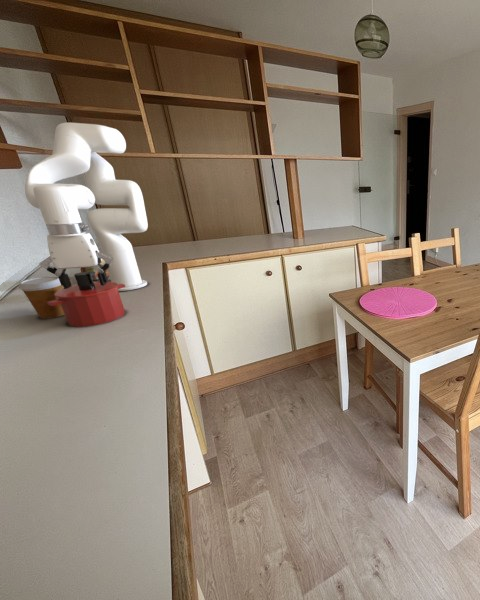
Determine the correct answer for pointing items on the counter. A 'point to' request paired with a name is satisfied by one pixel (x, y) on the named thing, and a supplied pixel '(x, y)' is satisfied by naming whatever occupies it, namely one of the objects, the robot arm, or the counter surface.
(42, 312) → the disposable coffee cup
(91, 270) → the tin
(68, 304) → the pot
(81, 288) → the pot lid
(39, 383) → the counter surface
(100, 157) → the robot arm
